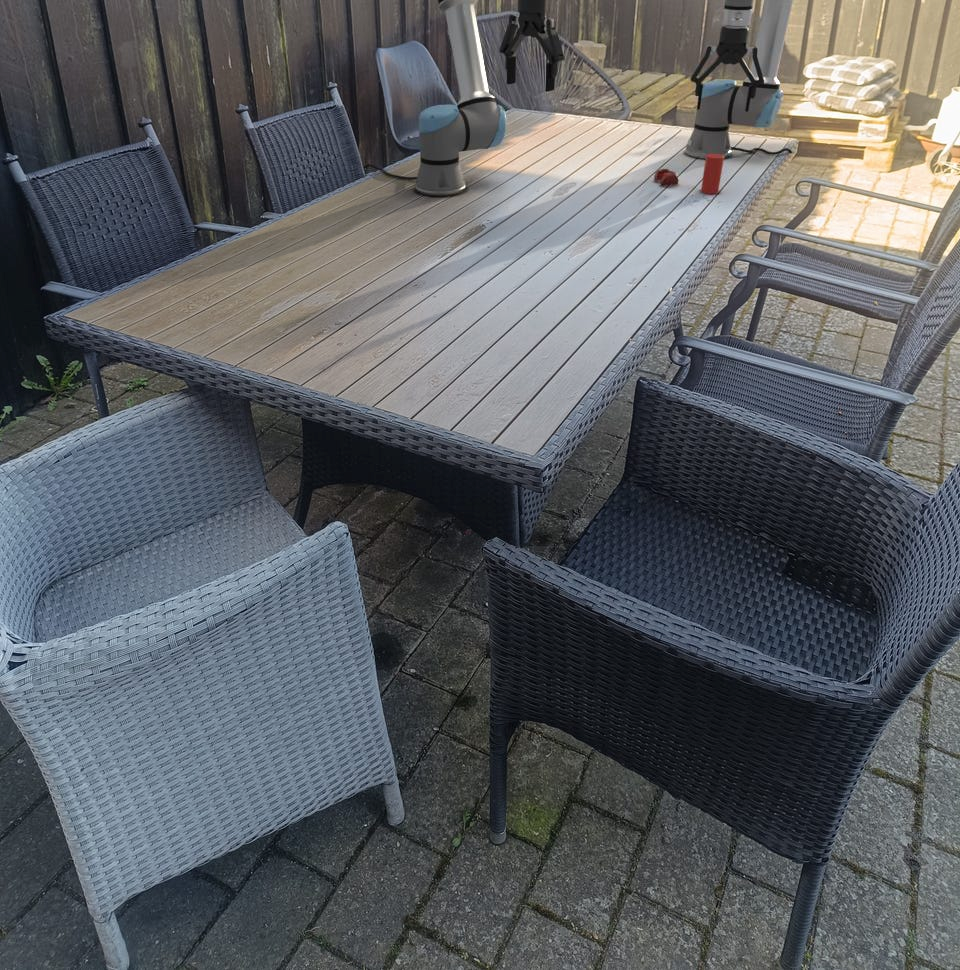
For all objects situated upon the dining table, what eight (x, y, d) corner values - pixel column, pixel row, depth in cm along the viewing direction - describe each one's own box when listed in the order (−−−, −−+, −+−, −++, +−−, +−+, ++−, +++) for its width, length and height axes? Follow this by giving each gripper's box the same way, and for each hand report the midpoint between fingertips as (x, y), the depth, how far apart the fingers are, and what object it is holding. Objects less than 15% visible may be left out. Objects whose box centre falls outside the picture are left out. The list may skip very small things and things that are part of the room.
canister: (715, 189, 259) (720, 153, 253) (720, 194, 255) (726, 157, 249) (698, 189, 259) (703, 153, 252) (704, 194, 254) (709, 158, 248)
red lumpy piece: (669, 164, 265) (680, 172, 259) (668, 178, 267) (679, 185, 261) (653, 166, 264) (664, 174, 258) (652, 180, 266) (662, 188, 260)
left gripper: (581, -3, 205) (576, 91, 217) (506, -11, 219) (505, 78, 232) (562, -1, 201) (557, 96, 213) (486, -8, 215) (486, 82, 227)
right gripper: (688, 27, 230) (678, 110, 242) (783, 29, 226) (768, 114, 238) (689, 23, 236) (678, 104, 248) (781, 25, 232) (766, 108, 244)
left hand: (530, 87), depth 222 cm, fingers open, 13 cm apart
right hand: (722, 109), depth 243 cm, fingers open, 13 cm apart
